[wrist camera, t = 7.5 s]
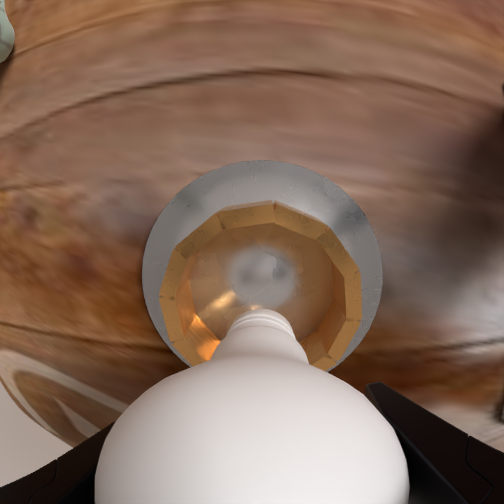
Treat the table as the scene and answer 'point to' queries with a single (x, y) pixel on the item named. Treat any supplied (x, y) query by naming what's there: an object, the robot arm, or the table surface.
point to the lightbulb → (252, 432)
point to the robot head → (5, 34)
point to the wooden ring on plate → (262, 261)
